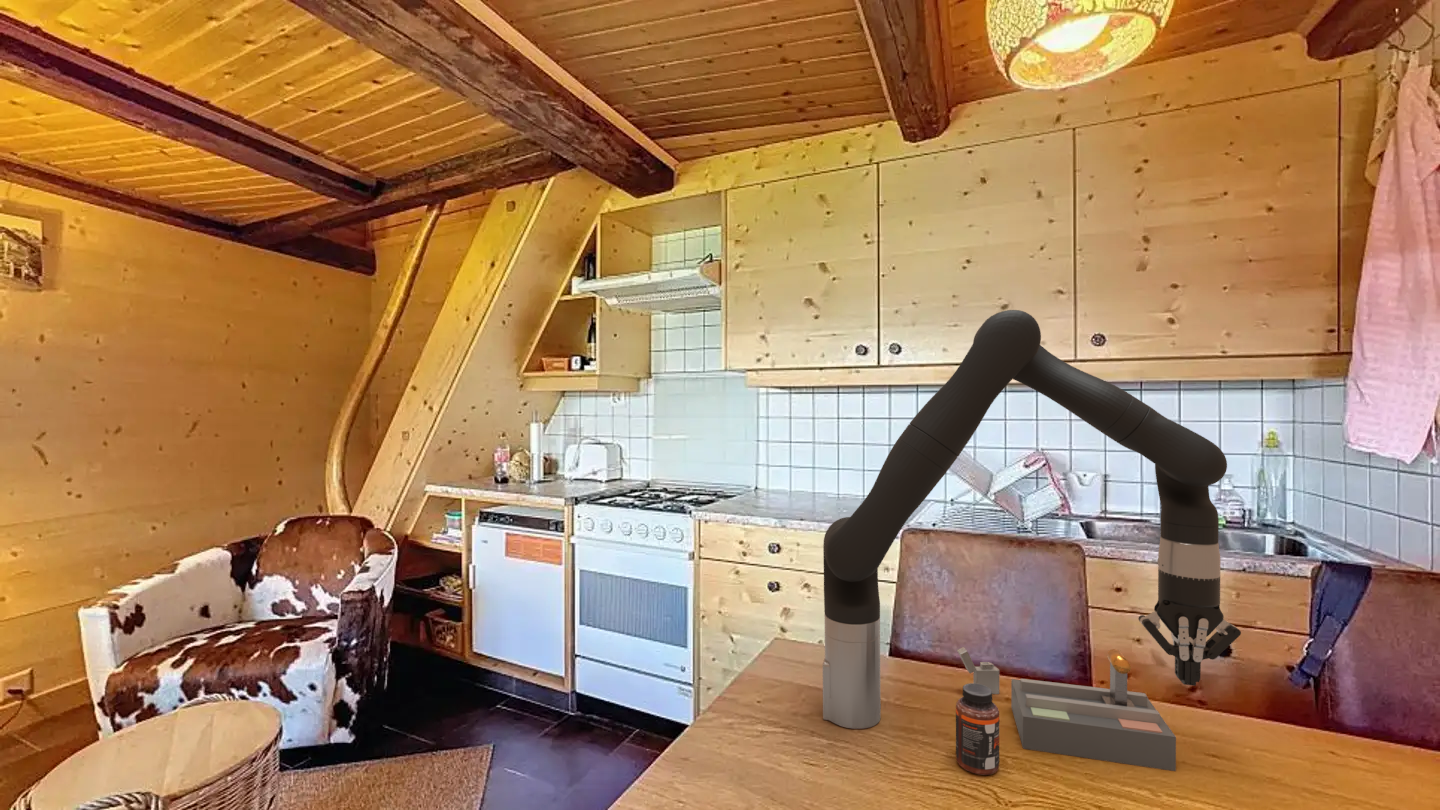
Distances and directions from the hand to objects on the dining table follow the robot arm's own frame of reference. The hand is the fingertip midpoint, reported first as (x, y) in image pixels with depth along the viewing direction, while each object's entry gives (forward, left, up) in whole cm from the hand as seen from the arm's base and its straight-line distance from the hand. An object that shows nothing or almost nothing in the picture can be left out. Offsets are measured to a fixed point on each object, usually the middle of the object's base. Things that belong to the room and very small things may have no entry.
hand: (1187, 682), depth 95 cm
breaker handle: (-9, 0, -5) cm, 11 cm away
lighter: (-29, +11, -11) cm, 32 cm away
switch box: (-14, 0, -10) cm, 17 cm away
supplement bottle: (-31, -13, -11) cm, 35 cm away
